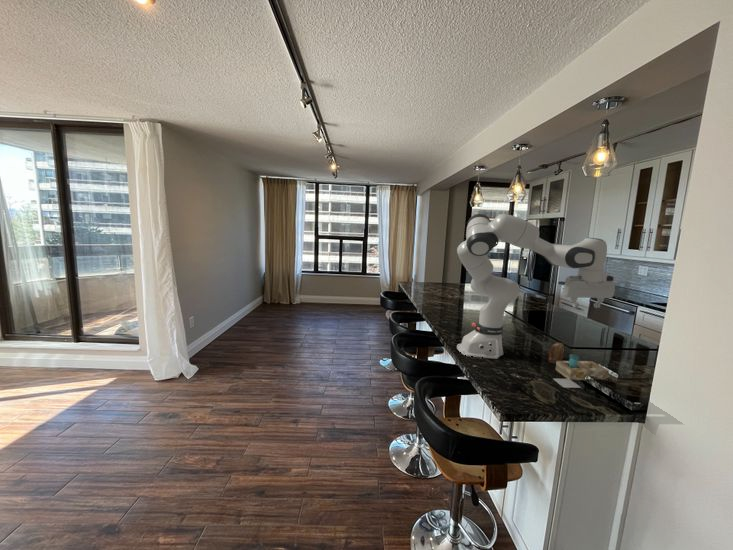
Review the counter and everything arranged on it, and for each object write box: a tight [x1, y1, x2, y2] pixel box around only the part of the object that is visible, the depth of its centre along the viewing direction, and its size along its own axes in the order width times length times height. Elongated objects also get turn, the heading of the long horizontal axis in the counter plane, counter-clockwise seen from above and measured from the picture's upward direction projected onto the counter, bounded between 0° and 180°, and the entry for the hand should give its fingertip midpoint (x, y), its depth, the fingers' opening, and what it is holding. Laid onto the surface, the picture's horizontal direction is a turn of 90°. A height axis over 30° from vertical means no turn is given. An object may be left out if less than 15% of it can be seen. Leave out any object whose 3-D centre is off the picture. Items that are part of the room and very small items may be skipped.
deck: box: [553, 378, 582, 389], centre depth 121 cm, size 7×7×1 cm
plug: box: [568, 353, 580, 368], centre depth 127 cm, size 3×3×8 cm
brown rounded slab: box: [547, 342, 566, 365], centre depth 143 cm, size 15×3×8 cm, turn 130°
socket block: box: [555, 360, 610, 381], centre depth 128 cm, size 16×9×5 cm, turn 91°
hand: (585, 307), depth 130 cm, fingers open, 8 cm apart
